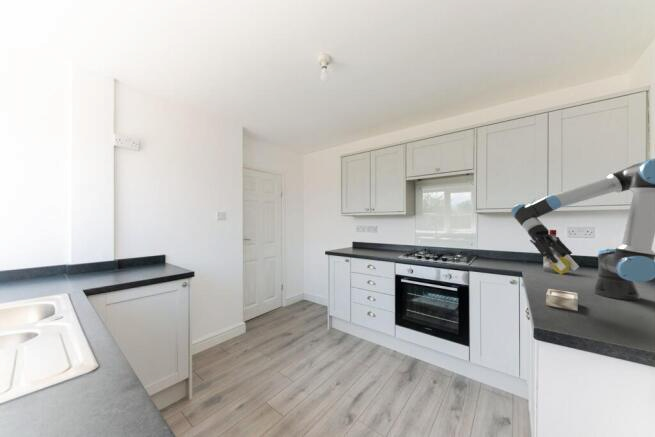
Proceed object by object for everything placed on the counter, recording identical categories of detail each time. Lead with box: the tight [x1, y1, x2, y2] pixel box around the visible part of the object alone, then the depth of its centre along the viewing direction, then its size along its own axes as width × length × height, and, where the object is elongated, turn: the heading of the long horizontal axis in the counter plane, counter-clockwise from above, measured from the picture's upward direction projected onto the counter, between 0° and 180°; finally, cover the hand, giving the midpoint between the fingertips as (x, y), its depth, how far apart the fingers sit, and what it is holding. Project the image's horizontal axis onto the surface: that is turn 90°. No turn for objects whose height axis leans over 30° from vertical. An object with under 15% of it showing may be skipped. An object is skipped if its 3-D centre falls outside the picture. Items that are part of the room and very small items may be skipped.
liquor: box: [542, 229, 563, 274], centre depth 182 cm, size 9×9×30 cm
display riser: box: [545, 288, 579, 312], centre depth 114 cm, size 10×12×5 cm
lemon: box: [553, 257, 570, 275], centre depth 114 cm, size 6×6×8 cm
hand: (569, 268), depth 111 cm, fingers closed on lemon, 5 cm apart
